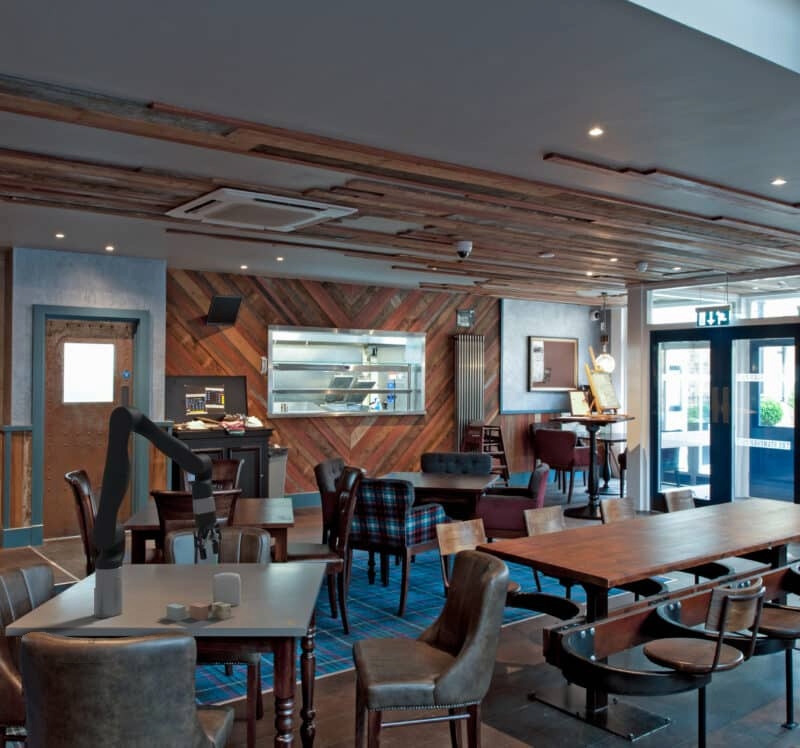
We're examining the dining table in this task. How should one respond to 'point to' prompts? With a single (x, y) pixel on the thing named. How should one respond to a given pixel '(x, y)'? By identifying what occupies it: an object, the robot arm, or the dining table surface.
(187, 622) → the charcoal mat
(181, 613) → the grey green brick
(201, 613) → the terracotta brick
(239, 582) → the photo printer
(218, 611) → the maple brick
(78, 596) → the dining table surface
